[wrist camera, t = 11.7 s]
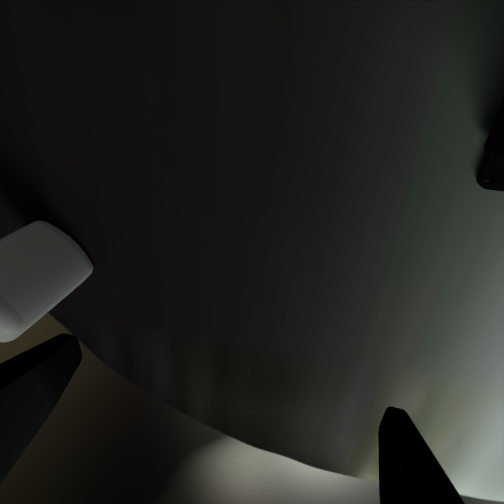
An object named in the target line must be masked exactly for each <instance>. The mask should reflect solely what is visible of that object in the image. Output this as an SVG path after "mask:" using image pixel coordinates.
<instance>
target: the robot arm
mask: <svg viewBox="0 0 504 504" xmlns="http://www.w3.org/2000/svg"><path fill="white" fill-rule="evenodd" d="M484 147H485V149H486V150H487V153H486V156H485V158H484V161H483V163H482V166H481V168H480V170H479V173H478V175H477V183H478V184H479V185H480V186H481V187H482V188H484V189H488V190H497V191H504V98H503V101H502V103H501V106H500V108H499V111H498V113H497V116H496V118H495V121H494V123H493V126H492V128H491V131H490V133H489V136H488V138H487V141H486V143H485V146H484ZM489 175H494V177H493V179H492V180H491V181H490V182H485V179H486V177H487V176H489ZM81 359H82V352H81V349H80V345H79V342H78V339H77V337H76V336H74V335H70V334H64V333H63V334H60V335H57V336H55V337H53V338H51V339H49V340H47V341H45V342H43V343H41V344H39V345H37V346H35V347H33V348H31V349H29V350H27V351H25V352H23V353H21V354H19V355H17V356H15V357H13V358H11V359H9V360H7V361H5V362H3V363H1V364H0V485H1V484H2V482H3V481H4V479H5V478H6V476H7V475H8V473H9V472H10V471H11V469H12V468H13V466H14V465H15V464H16V462H17V461H18V459H19V458H20V456H21V455H22V454H23V452H24V451H25V449H26V448H27V446H28V445H29V444H30V442H31V441H32V439H33V438H34V437H35V435H36V434H37V432H38V431H39V429H40V428H41V427H42V425H43V424H44V422H45V421H46V419H47V418H48V416H49V415H50V413H51V412H52V411H53V409H54V407H55V406H56V404H57V402H58V401H59V399H60V397H61V395H62V394H63V392H64V390H65V389H66V387H67V385H68V383H69V382H70V380H71V378H72V376H73V374H74V373H75V371H76V369H77V368H78V366H79V364H80V362H81ZM378 436H379V492H380V504H465V503H464V501H463V500H462V498H461V497H460V495H459V493H458V492H457V490H456V489H455V487H454V486H453V484H452V482H451V481H450V479H449V478H448V476H447V475H446V473H445V471H444V470H443V468H442V467H441V465H440V464H439V462H438V460H437V459H436V457H435V456H434V454H433V453H432V451H431V450H430V448H429V446H428V445H427V443H426V442H425V440H424V439H423V437H422V435H421V434H420V432H419V431H418V429H417V428H416V426H415V424H414V423H413V421H412V420H411V418H410V417H409V415H408V414H407V412H406V411H405V410H403V409H400V408H395V407H390V406H389V407H388V408H387V409H386V411H385V413H384V416H383V418H382V420H381V423H380V425H379V433H378Z"/></svg>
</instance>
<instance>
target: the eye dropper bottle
mask: <svg viewBox="0 0 504 504" xmlns="http://www.w3.org/2000/svg"><path fill="white" fill-rule="evenodd" d="M92 271H93V265H92V262H91V261H90V259H89V258H88V256H87V255H86V253H85V252H84V251H83V250H82V248H81V247H80V246H79V245H78V244H77V243H76V242H75V241H74V240H73V239H72V238H71V237H70V236H68V235H67V234H66V233H64V232H63V231H61V230H60V229H58V228H57V227H55V226H53V225H51V224H50V223H47V222H45V221H35V222H33V223H31V224H29V225H27V226H25V227H23V228H21V229H19V230H17V231H16V232H14V233H12V234H10V235H8V236H6V237H4V238H2V239H0V342H8V341H12V340H14V339H16V338H17V337H18V336H20V335H21V334H22V333H23V332H25V331H26V330H27V329H28V328H29V327H31V326H32V325H33V324H34V323H35V322H37V321H38V320H39V319H40V318H41V317H42V316H44V315H45V314H46V313H47V312H48V311H49V310H51V309H52V308H53V307H54V306H55V305H56V304H58V303H59V302H60V301H61V300H62V299H64V298H65V297H66V296H67V295H68V294H69V293H71V292H72V291H73V290H74V289H75V288H76V287H77V286H79V285H80V284H81V283H82V282H83V281H84V280H85V279H86V278H87V277H88V276H89V275H90V274H91V273H92Z"/></svg>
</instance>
